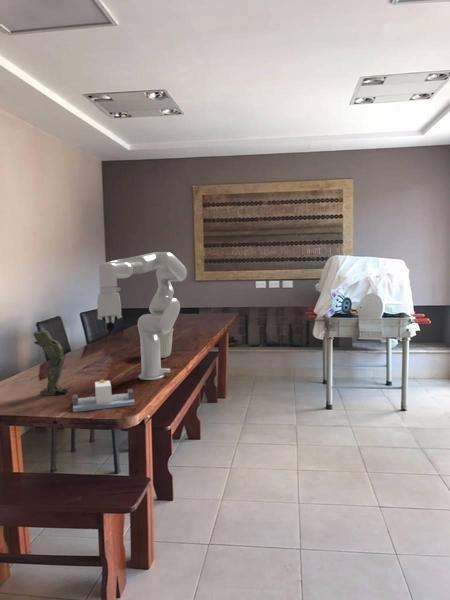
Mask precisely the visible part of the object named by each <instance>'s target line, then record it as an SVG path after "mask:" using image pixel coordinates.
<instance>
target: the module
mask: <svg viewBox="0 0 450 600" xmlns="http://www.w3.org/2000/svg"><path fill="white" fill-rule="evenodd" d="M94 387H95V388H94V389H95V390H94V392H95V397H96V404H104V403H112V395H113V393H112V385H111V380H105V379H100V380H99V381H95V382H94Z"/></svg>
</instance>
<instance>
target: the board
mask: <svg viewBox="0 0 450 600" xmlns="http://www.w3.org/2000/svg"><path fill="white" fill-rule="evenodd" d="M135 402H136V401H135V398H134V399H124V400H115V401H112V403H104V404H96V403H87V404H78V405H74V406H73V405H72V412H73V413H75V412H84V411H85V412H86V411H94V410H101V409H113V408H120V407H122V408H123V407H129V406H135V405H136V403H135Z"/></svg>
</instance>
